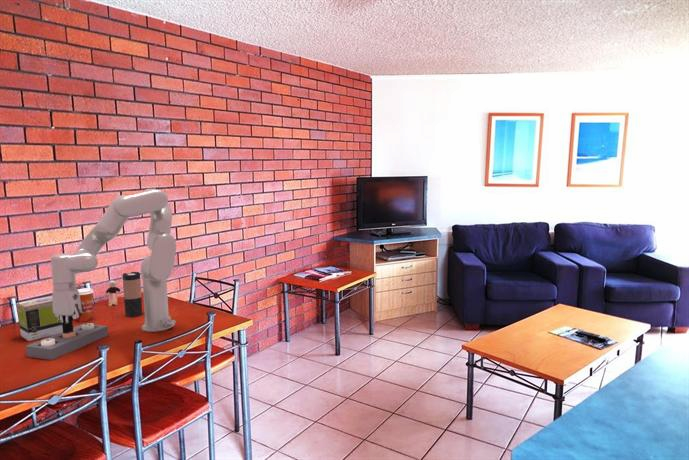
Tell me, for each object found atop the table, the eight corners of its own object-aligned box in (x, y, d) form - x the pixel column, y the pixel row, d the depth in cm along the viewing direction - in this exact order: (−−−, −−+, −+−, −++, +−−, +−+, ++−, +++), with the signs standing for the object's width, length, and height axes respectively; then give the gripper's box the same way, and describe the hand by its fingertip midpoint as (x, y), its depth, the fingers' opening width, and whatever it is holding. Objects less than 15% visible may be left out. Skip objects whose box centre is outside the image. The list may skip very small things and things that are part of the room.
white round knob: (58, 349, 172) (57, 338, 171) (48, 353, 168) (47, 342, 167) (49, 347, 173) (48, 337, 173) (38, 352, 169) (37, 341, 169)
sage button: (97, 333, 189) (96, 323, 189) (88, 336, 185) (87, 326, 184) (88, 332, 190) (87, 322, 190) (79, 335, 186) (78, 325, 186)
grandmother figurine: (107, 307, 230) (105, 282, 229) (104, 305, 233) (103, 281, 231) (123, 304, 235) (121, 279, 234) (120, 302, 238) (119, 278, 237)
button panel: (108, 335, 190) (107, 326, 189) (51, 360, 165) (50, 349, 165) (85, 332, 193) (84, 323, 193) (26, 356, 169) (25, 345, 168)
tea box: (60, 327, 201) (57, 294, 199) (69, 331, 195) (66, 298, 193) (19, 336, 189) (16, 301, 188) (28, 342, 183) (24, 306, 181)
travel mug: (138, 317, 213) (135, 275, 211) (121, 317, 214) (119, 275, 211) (145, 312, 221) (143, 271, 219) (129, 312, 221) (127, 271, 219)
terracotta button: (78, 340, 180) (77, 330, 180) (69, 344, 176) (68, 334, 176) (70, 339, 182) (69, 329, 181) (60, 343, 178) (59, 333, 177)
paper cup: (81, 323, 205) (78, 293, 203) (73, 320, 210) (71, 290, 208) (99, 319, 211) (96, 289, 210) (91, 315, 216) (89, 286, 214)
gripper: (88, 285, 178) (91, 330, 180) (58, 282, 182) (61, 327, 184) (71, 289, 170) (75, 337, 173) (40, 286, 175) (44, 333, 177)
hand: (68, 331), depth 178 cm, fingers closed
